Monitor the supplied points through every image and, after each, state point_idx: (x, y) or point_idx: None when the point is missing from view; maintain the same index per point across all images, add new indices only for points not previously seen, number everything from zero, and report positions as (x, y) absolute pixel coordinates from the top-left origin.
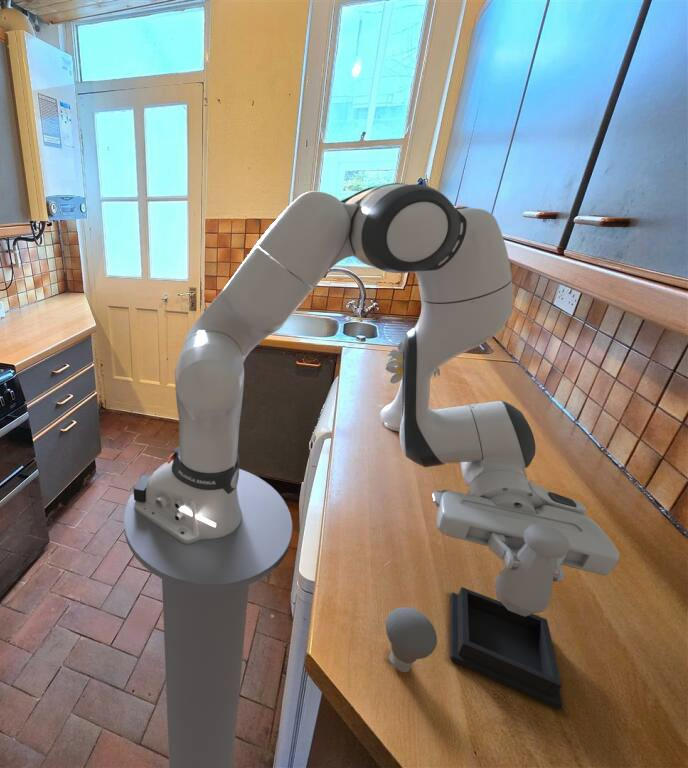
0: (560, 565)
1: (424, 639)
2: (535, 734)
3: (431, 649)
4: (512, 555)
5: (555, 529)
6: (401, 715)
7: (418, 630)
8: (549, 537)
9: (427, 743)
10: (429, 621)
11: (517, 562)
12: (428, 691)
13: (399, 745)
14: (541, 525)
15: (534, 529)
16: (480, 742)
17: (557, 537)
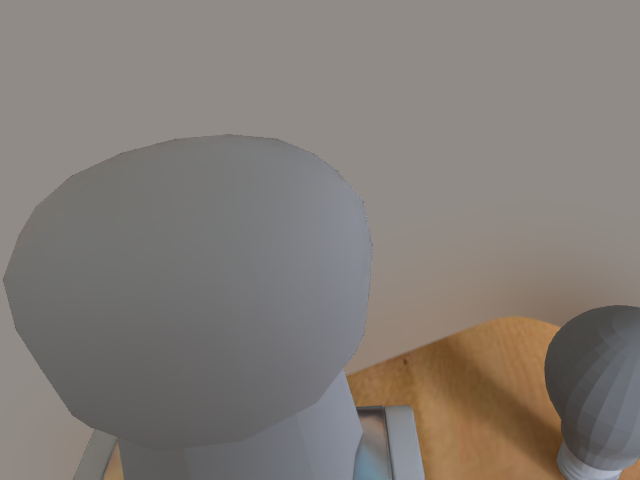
0: (76, 478)
1: (587, 312)
2: None
3: (555, 334)
4: (390, 446)
5: (71, 235)
6: (537, 366)
7: (615, 307)
8: (222, 144)
9: (482, 343)
10: (600, 355)
11: (363, 409)
12: (500, 434)
13: (524, 324)
14: (210, 231)
15: (311, 190)
16: (394, 380)
17: (150, 153)
